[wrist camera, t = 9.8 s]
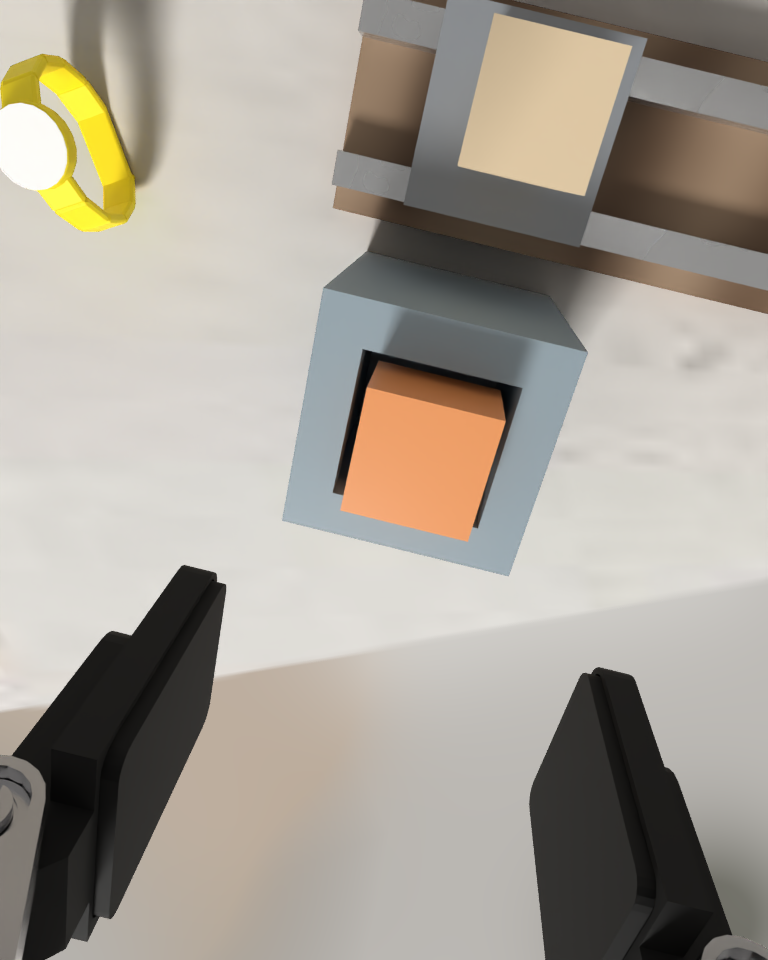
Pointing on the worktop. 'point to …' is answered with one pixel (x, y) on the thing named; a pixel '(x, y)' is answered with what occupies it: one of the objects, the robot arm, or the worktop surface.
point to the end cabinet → (443, 351)
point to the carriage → (520, 118)
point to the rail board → (629, 171)
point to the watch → (62, 143)
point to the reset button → (423, 450)
